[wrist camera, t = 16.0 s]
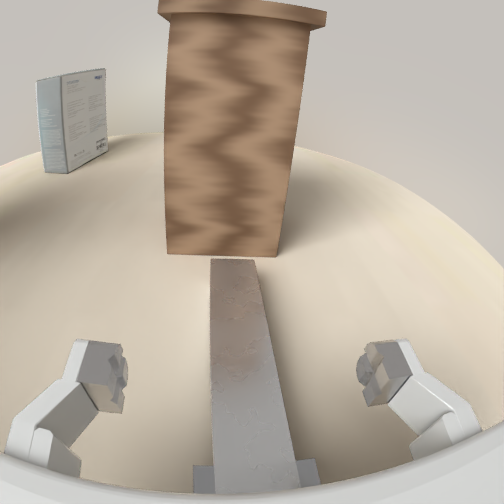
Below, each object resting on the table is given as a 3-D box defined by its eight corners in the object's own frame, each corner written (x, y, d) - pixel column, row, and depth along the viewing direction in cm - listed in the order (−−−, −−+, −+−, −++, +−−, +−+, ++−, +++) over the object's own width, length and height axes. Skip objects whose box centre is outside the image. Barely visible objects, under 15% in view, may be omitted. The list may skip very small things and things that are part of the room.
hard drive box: (84, 150, 65) (82, 70, 53) (109, 151, 64) (108, 67, 53) (42, 173, 52) (35, 79, 41) (67, 174, 51) (61, 74, 40)
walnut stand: (157, 258, 32) (159, -3, 18) (172, 205, 43) (179, 18, 29) (286, 262, 34) (326, 11, 20) (270, 209, 45) (294, 26, 30)
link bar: (199, 258, 28) (199, 296, 31) (194, 519, 9) (200, 530, 12) (264, 259, 29) (259, 297, 31) (326, 508, 10) (304, 522, 12)
